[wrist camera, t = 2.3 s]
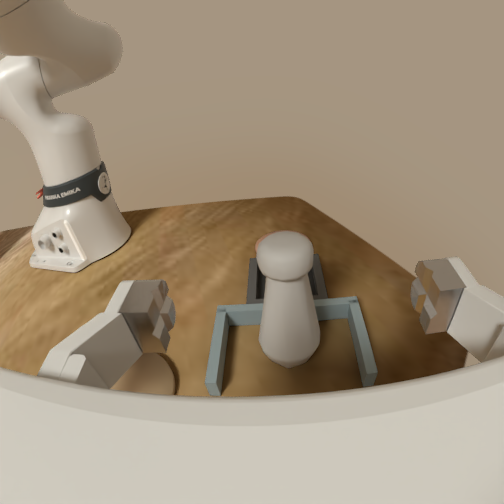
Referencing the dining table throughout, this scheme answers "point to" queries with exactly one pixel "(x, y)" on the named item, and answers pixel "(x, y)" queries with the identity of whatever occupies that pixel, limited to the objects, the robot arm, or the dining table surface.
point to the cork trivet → (148, 376)
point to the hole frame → (258, 282)
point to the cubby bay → (253, 316)
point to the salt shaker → (287, 299)
